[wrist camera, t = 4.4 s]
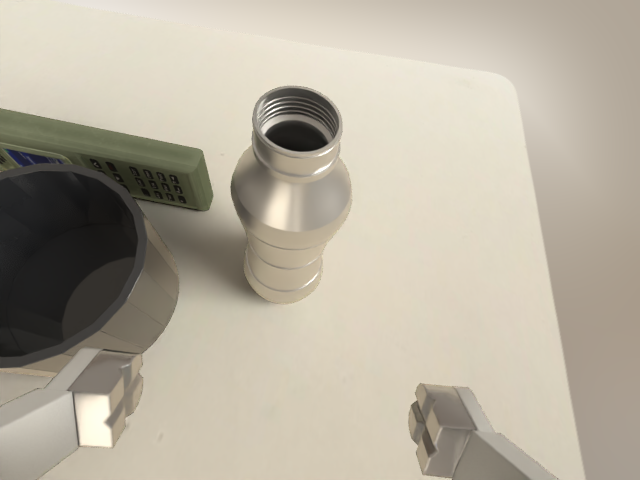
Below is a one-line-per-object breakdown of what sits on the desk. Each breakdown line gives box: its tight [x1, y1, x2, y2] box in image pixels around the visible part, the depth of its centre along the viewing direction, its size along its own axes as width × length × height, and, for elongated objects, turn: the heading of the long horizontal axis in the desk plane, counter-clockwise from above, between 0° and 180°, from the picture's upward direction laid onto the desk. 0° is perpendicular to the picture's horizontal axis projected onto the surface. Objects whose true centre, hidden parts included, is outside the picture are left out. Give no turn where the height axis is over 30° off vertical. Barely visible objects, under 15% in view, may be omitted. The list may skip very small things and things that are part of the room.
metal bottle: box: [231, 86, 352, 304], centre depth 24 cm, size 6×7×20 cm
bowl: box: [0, 163, 179, 377], centre depth 26 cm, size 13×13×9 cm
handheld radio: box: [0, 108, 213, 211], centre depth 31 cm, size 7×3×25 cm
